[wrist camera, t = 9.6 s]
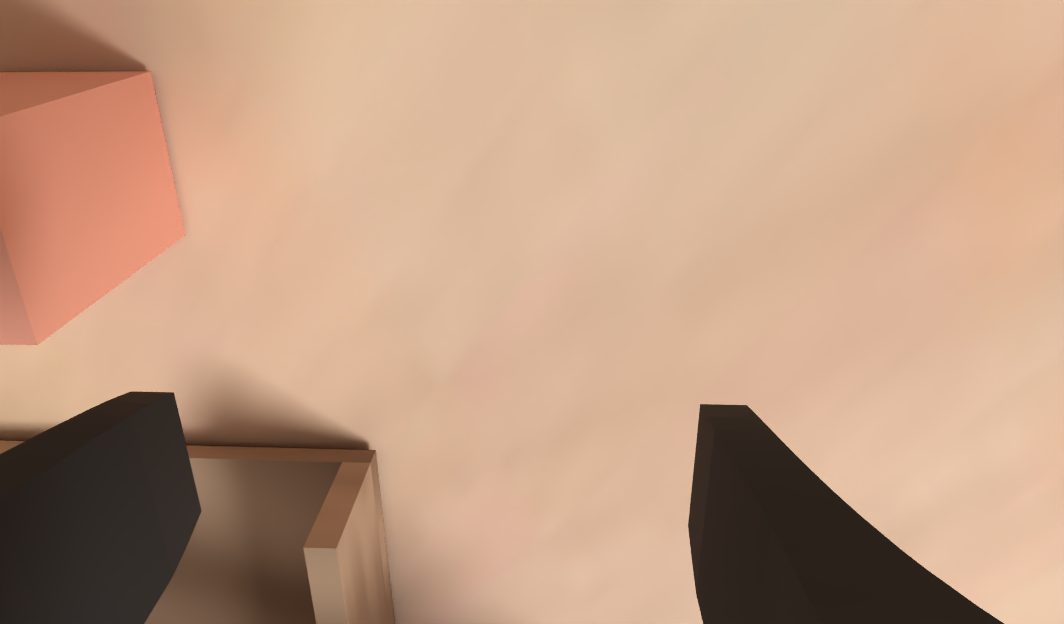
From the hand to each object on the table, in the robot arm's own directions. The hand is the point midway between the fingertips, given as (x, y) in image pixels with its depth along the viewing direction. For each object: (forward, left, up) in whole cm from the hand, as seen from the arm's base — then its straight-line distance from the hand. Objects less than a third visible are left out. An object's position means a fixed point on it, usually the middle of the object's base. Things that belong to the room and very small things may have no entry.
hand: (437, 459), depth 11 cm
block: (+2, +10, -10) cm, 14 cm away
